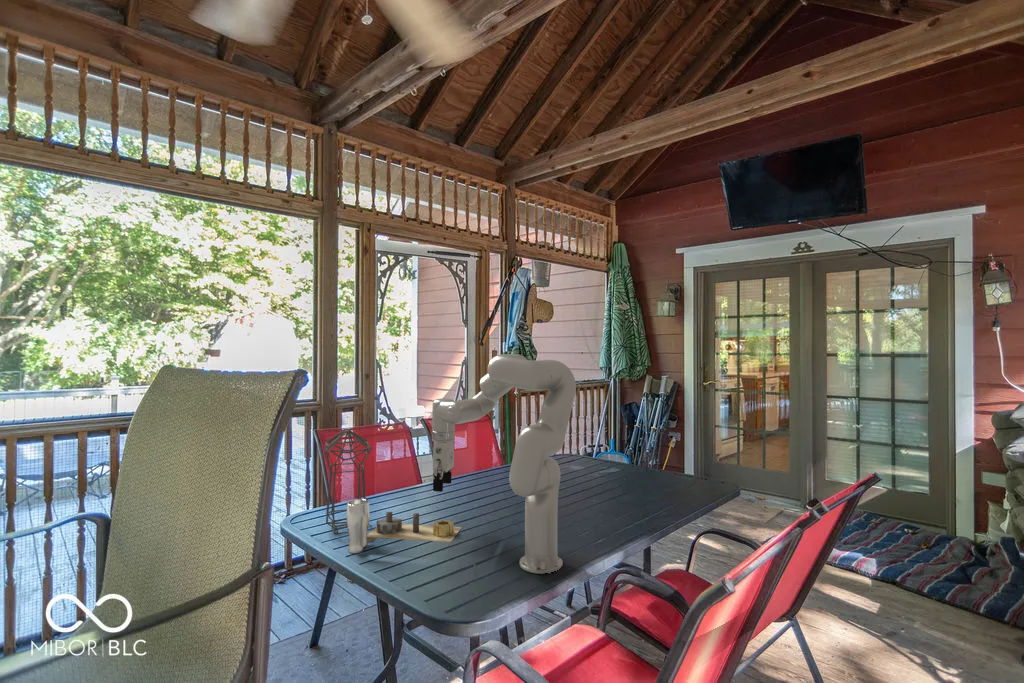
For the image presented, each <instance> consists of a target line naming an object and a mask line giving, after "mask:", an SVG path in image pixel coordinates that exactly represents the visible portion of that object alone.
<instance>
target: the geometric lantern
mask: <svg viewBox="0 0 1024 683" xmlns="http://www.w3.org/2000/svg"><path fill="white" fill-rule="evenodd" d="M344 436H345V438H344V440H343V442H341V439H342V438H343V437H344ZM352 437H354V439H356V440H355V441H353V438H352ZM347 438H348V441H347ZM356 443H358V444H357V445H355V446H354V447H353V445H354V444H356ZM322 444H324V446H325V447H324V449H323V450H324V457H325V458H326V462H327V465H328V470H329V477H328V479H329V480H328V491H327V501H326V502H327V503H326V512H325V523H326V525H328V526H329V527H330V528H331V529H332V534H334V535H340V534H341V535H342V534H349V532H348V531H342V532H341V531H340V532H339V529H344V528H345V529H346V528H347V529H348V526H347V517H346V518H340V519H335V513H338V512H339V513H340V512H347V508H346V509H337V510H336V509H335V503H336V502H335V500H336V498H335V496H336V494H335V493H336V478H337V477H336V475H337V474H338V473H339V474H342V473H356V472H357V473H358V475H357V477H358V478H357V499H366V476H365V474H366V473H365V471H366V470H365V468H366V465H367V460H368V456H369V455H370V453H371V451H372V450H373V447H372V446H371V445H370V444H369V440H368V439H366V438H365V437H364V436H361V435H359V434H357V433H355V432H354V431H352V430H351V429H344V430H342V431H340V432H338V433H337V434H336V435H333V436H332V437H330V438H329V439H327V440H325V441H324V442H322ZM337 444H339V445H342V447H340V446H338V445H337ZM346 444H348V445H349V449H345V446H346ZM360 445H362V446H363V447H365V448H362V449H357V448H358V447H359V446H360ZM334 447H336V448H337V449H333V448H334ZM355 449H356V450H355ZM356 452H359V453H357V454H356ZM329 453H332V454H333V455H334V456H336V457H337V458H336V460H335V462H334V463H333V460H332V457H331V454H329ZM338 453H339V454H338ZM352 453H353V455H354V456H352ZM343 454H349V456H350V457H348V458H344V457H343ZM362 454H364V455H363V458H362V460H361V461H360V459H359V456H361V455H362ZM328 457H329V458H328ZM355 458H356V459H357V460H358V462H355V460H354V459H355ZM329 459H330V460H329ZM339 459H340V460H341V462H340V463H337V462H338V461H339ZM348 460H349V461H350V460H351V461H352V462H350V463H348V462H347V463H346V462H345V463H343V462H344V461H348ZM330 462H331V465H330ZM357 464H358V465H357ZM342 465H344V466H345V465H354V466H355V468H356V469H357V470H347V471H338V469H339V468H340V467H341V466H342ZM333 467H334V471H333ZM332 477H333V482H332ZM361 481H362V482H361ZM332 483H333V484H332ZM361 483H362V484H361ZM361 486H362V487H361ZM331 489H332V498H331ZM361 490H362V492H361ZM366 500H367V499H366ZM330 501H331V510H330ZM329 510H330V511H329ZM329 514H331V516H332V518H331V516H330V515H329ZM329 519H330V521H331V522H330V521H329Z"/></svg>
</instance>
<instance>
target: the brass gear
mask: <svg viewBox="0 0 1024 683" xmlns="http://www.w3.org/2000/svg"><path fill="white" fill-rule="evenodd" d="M432 526H433V535H436V537H446V536H451V535H452V533H453V531H454V527H455V526H454V521H451V519H447V520H446V519H441V520H435V521H434V522H433V523H432Z"/></svg>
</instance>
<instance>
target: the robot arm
mask: <svg viewBox="0 0 1024 683" xmlns="http://www.w3.org/2000/svg"><path fill="white" fill-rule="evenodd" d="M486 369H487V370H486V371H487V373H486V374H484V375H483V376H482V377H481V378H480V380H479V387H480V391H479V392H478V393H477V394H476V395H474V396H472V397H471V398H466V399H460V400H454V399H451V398H436V399H434V400H433V401H432V413H431V415H432V416H431V417H432V419H431V421H432V422H431V425H432V426H431V428H432V429H431V441H432V442H433V450H432V471H433V472H432V491H433V492H440V493H441V492H443V491H444V484H448V485H449V484H451V483H452V470H453V469H452V468H454V465H455V445H454V441H455V435H456V434H455V431H456V428H455V427H456V425H461V424H466V423H471V422H476V421H478V420H480V419H482V418H483V417H484V416H486V415H487V414H489V413H490V412H492V410H493V409H495V407H497V404H498V402H499V400H500V399H501V398H502V397H503V396H504V395H506V394H507V393H508V392H509V391H510V390H512V389H513V388H515V389H520V390H524V391H528V392H529V391H530V392H531V391H532V392H536V391H537V392H538V391H544V390H547V392H548V393H547V395H546V396H545V398H544V400H543V402H542V405H541V409H540V414H539V415H538V416H539V417H538V420H537V423H535V424H531V425H528V426H526V427H524V428H523V429H522V431H521V432H520V433H519V434H518V436H517V439H516V442H515V446H514V451H513V455H512V460H511V463H510V468H509V469H510V470H509V474H508V477H509V478H508V480H509V485H510V488H511V490H512V491H513V492H514V494H516V495H517V496H519V497H521V498H522V497H523V498H525V500H524V555H523V556H522V557H520V559H519V566H520V568H521V569H522V570H524V571H525V572H528V573H531V574H537V575H539V574H540V575H543V574H544V575H546V574H545V573H548V574H552V573H551V572H554V571H556V572H558V571H560V570H561V569H562V568H563V567H562V566H564V563H563V559H562V558H560V557H559V556H558V511H559V510H558V508H559V507H558V504H559V503H558V502H559V490H560V485H561V484H560V483H561V469H560V465H559V464H558V462H557V461H556V460H555V459H554V458H553V457H551V456H553V455H555V454H557V453H559V452H560V451H561V450H562V449H563V446H564V443H565V440H566V439H565V438H566V434H567V430H568V427H569V422H570V418H571V417H570V416H571V412H572V409H573V405H574V402H575V398H576V392H577V386H576V385H577V384H576V383H577V382H576V379H575V376H574V374H573V372H572V371H571V369H570V368H569V367H568V366H567V364H565V363H563V362H561V361H559V360H555V359H544V360H543V359H542V360H541V359H539V360H530V359H527V358H526V357H525V356H523V355H521V354H516V353H500V354H497V355H495V356H493V357H492V358H491V359H490V361H489V363H488V365H487V368H486ZM561 567H562V568H561ZM560 568H561V569H560ZM559 569H560V570H559ZM557 570H558V571H557ZM554 573H555V572H554Z"/></svg>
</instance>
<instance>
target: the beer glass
mask: <svg viewBox="0 0 1024 683" xmlns="http://www.w3.org/2000/svg"><path fill="white" fill-rule="evenodd" d="M346 506H347V507H346V509H347V511H346V518H347V520H346V522H347V523H346V524H347V525H346V527H347V526H348V528H347V532H348V537H349V538H348V539H349V540H348V547H347V552H348V553H350V554H354V555H355V554H361V553H362V552H364V550H366V549H367V548H368V546H369V545H368V542H367V535H368V530H369V526H370V524H369V523H370V516H371V515H370V514H371V513H370V500H369V499H363V498H361V499H358V498H357V499H355V498H354V499H351V500H349V501H348V502H347V505H346Z"/></svg>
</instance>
